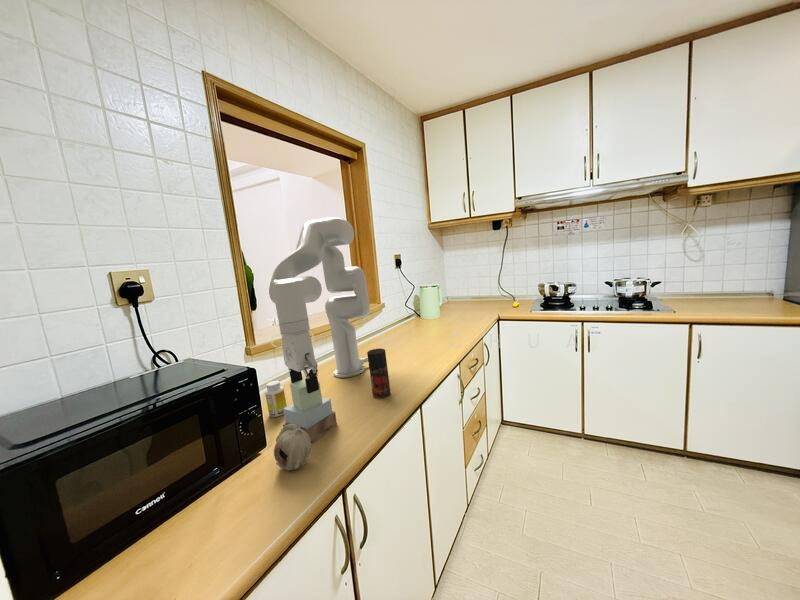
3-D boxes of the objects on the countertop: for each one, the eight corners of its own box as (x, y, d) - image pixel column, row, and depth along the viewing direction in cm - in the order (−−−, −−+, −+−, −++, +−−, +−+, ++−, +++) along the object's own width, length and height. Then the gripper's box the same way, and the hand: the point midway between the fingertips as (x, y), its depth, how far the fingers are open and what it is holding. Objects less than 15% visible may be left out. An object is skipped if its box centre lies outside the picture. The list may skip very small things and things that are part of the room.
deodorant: (369, 396, 108) (363, 353, 106) (382, 389, 112) (376, 347, 110) (381, 400, 104) (375, 355, 102) (394, 393, 108) (388, 349, 106)
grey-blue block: (311, 407, 96) (308, 394, 96) (332, 412, 91) (330, 399, 91) (285, 422, 89) (283, 408, 89) (307, 429, 84) (304, 414, 83)
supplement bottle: (289, 408, 107) (284, 378, 105) (285, 416, 101) (279, 385, 100) (272, 410, 106) (266, 380, 105) (266, 419, 101) (261, 387, 99)
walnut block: (310, 419, 97) (308, 407, 97) (337, 424, 92) (335, 411, 92) (284, 438, 89) (282, 424, 88) (312, 444, 84) (309, 430, 83)
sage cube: (313, 396, 94) (310, 377, 93) (322, 402, 89) (319, 382, 88) (293, 404, 90) (289, 384, 90) (301, 411, 86) (297, 389, 85)
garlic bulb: (283, 456, 80) (276, 418, 78) (318, 450, 80) (311, 412, 79) (270, 482, 70) (262, 439, 69) (310, 476, 71) (303, 433, 69)
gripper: (268, 326, 91) (279, 384, 93) (295, 333, 78) (306, 400, 80) (294, 320, 96) (303, 375, 98) (323, 326, 83) (333, 389, 85)
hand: (305, 387), depth 89 cm, fingers open, 9 cm apart
